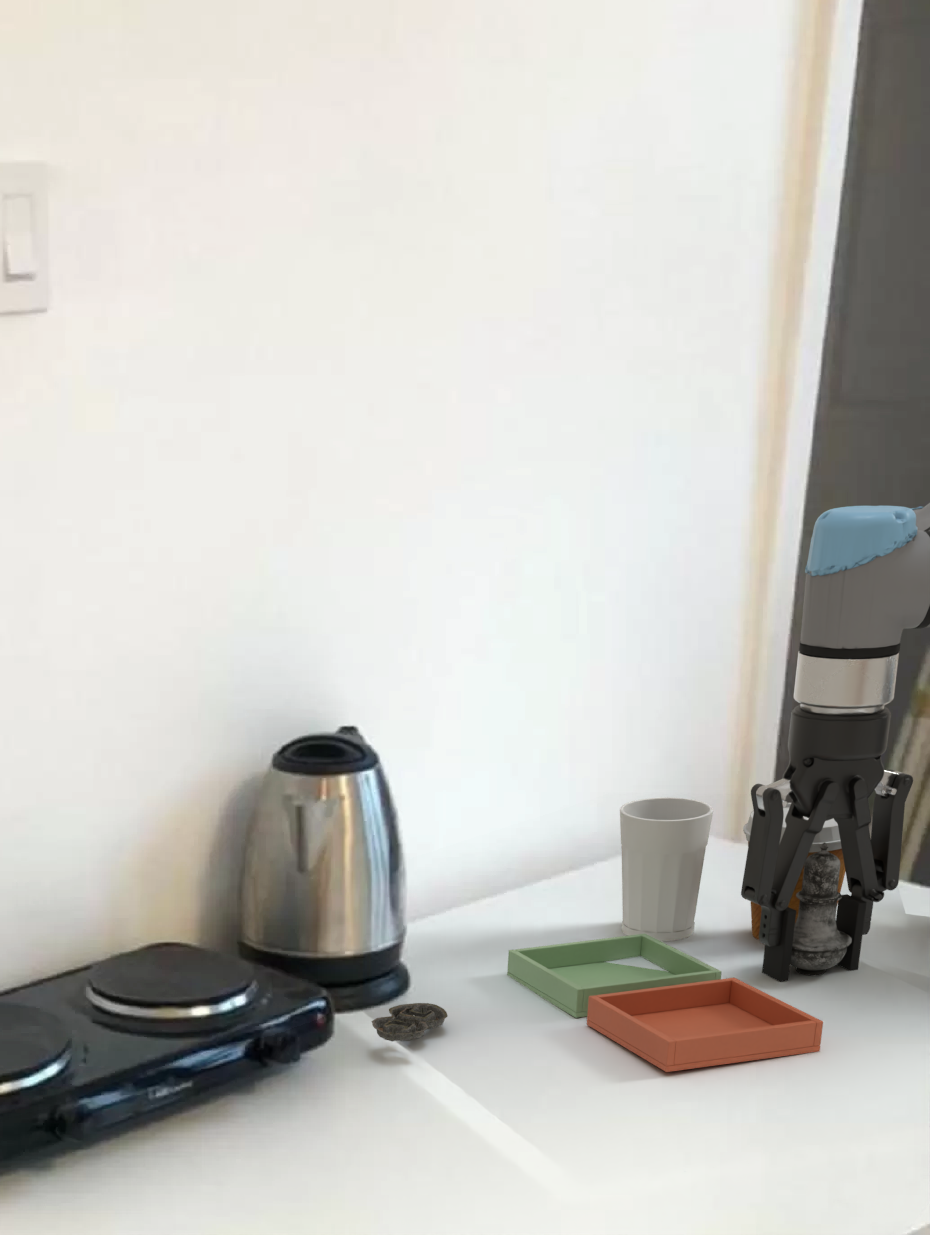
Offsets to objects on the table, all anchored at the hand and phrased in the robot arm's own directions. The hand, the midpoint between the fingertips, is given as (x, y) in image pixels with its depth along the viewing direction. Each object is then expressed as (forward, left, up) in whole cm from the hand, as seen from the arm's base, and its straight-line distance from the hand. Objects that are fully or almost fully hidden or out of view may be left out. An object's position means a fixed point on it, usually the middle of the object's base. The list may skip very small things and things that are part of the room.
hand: (809, 975), depth 176 cm
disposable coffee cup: (-4, -9, 0) cm, 10 cm away
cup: (+5, -16, 0) cm, 17 cm away
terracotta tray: (+16, +10, 0) cm, 19 cm away
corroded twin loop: (+37, 0, 0) cm, 37 cm away
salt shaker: (0, 0, 0) cm, 0 cm away
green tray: (+16, -4, 0) cm, 17 cm away
